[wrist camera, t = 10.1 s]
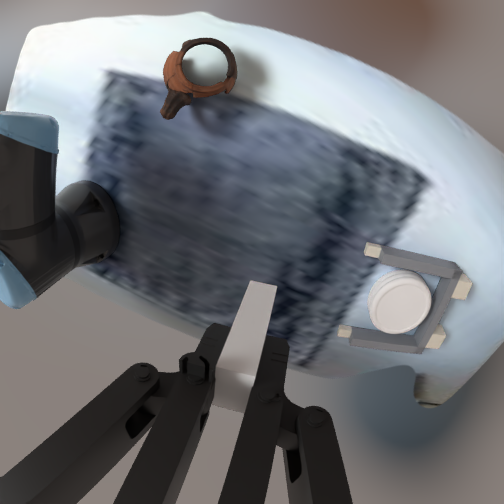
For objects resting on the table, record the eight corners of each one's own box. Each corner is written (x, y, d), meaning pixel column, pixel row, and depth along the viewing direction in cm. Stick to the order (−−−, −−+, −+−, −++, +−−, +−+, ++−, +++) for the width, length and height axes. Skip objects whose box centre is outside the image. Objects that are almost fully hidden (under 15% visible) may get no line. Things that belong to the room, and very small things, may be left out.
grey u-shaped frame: (337, 331, 44) (337, 343, 41) (366, 242, 37) (370, 250, 35) (430, 344, 42) (434, 355, 39) (468, 265, 35) (476, 274, 32)
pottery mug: (181, 41, 31) (189, 20, 24) (238, 68, 35) (257, 53, 28) (141, 111, 33) (138, 104, 26) (200, 137, 38) (212, 135, 30)
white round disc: (356, 313, 42) (358, 327, 39) (383, 259, 38) (388, 270, 35) (407, 327, 42) (411, 341, 38) (435, 278, 37) (443, 289, 34)
